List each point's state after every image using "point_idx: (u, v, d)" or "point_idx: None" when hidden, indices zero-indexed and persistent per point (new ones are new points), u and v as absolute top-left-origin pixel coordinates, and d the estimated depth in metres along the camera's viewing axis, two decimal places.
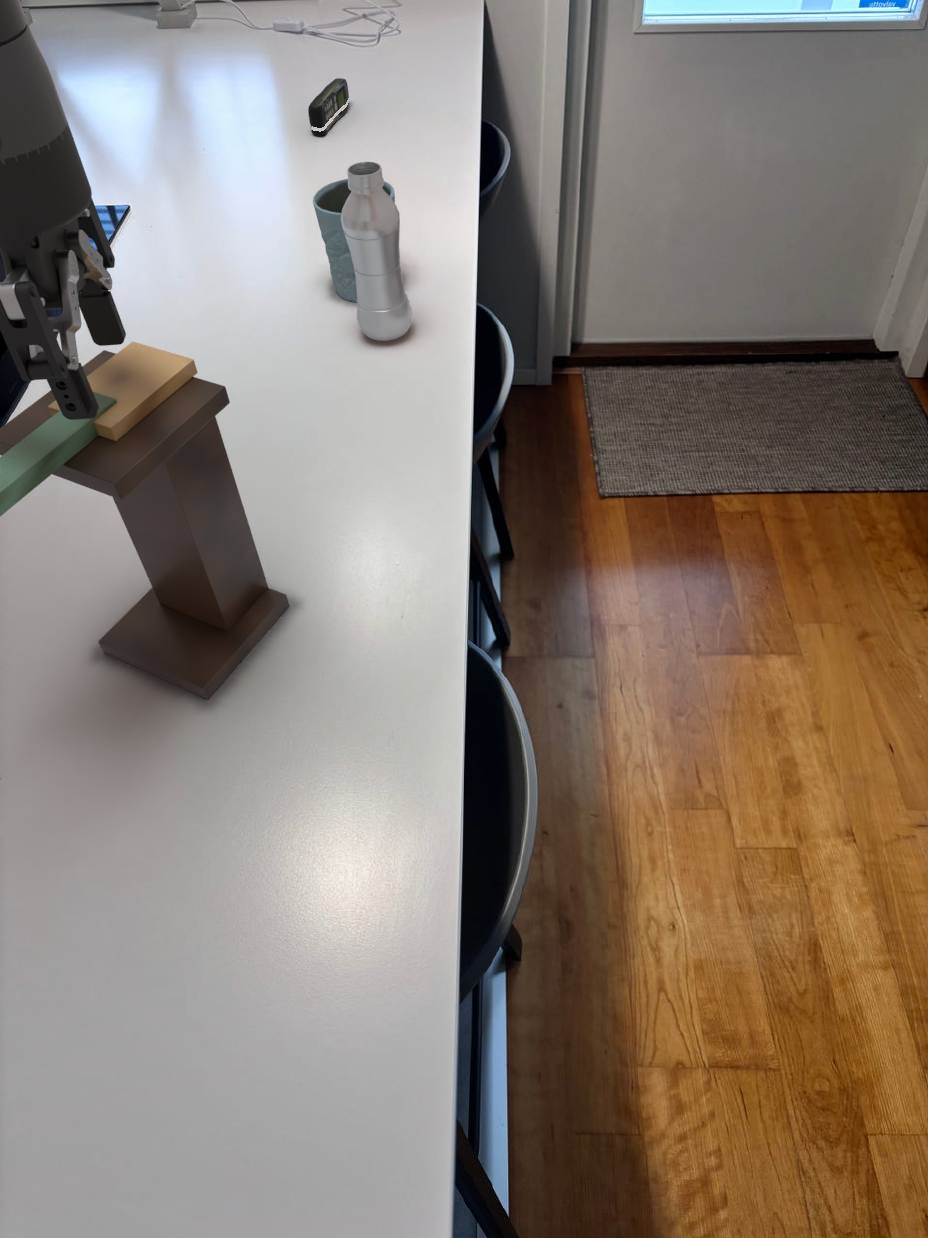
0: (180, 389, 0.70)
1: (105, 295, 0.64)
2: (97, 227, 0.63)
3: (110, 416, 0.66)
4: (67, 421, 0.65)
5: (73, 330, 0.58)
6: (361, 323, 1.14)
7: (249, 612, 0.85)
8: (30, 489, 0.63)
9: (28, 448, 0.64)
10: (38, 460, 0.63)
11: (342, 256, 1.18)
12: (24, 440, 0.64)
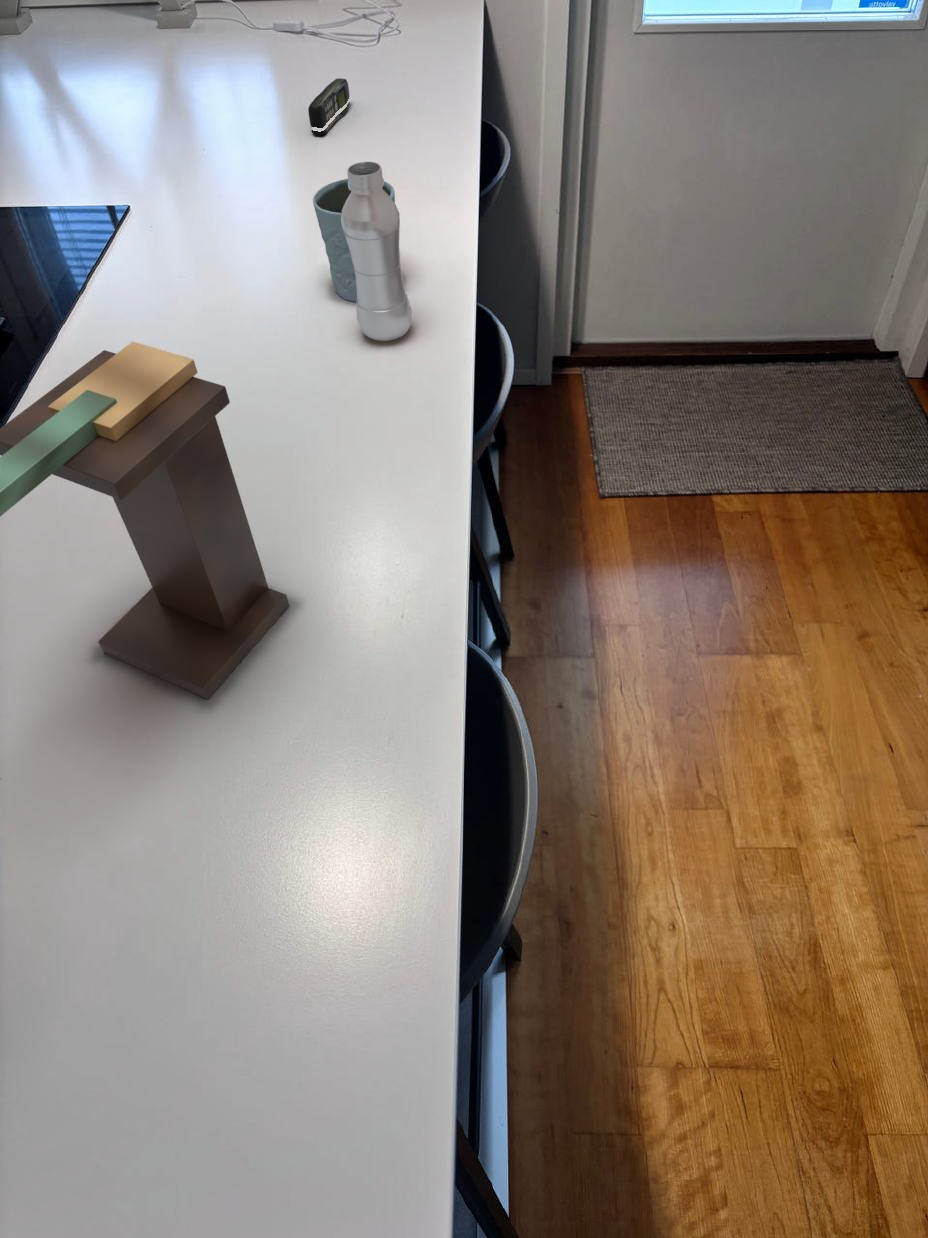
0: (180, 389, 0.70)
1: None
2: None
3: (110, 416, 0.66)
4: (67, 421, 0.65)
5: None
6: (361, 323, 1.14)
7: (249, 612, 0.85)
8: (30, 489, 0.63)
9: (28, 448, 0.64)
10: (38, 460, 0.63)
11: (342, 256, 1.18)
12: (24, 440, 0.64)
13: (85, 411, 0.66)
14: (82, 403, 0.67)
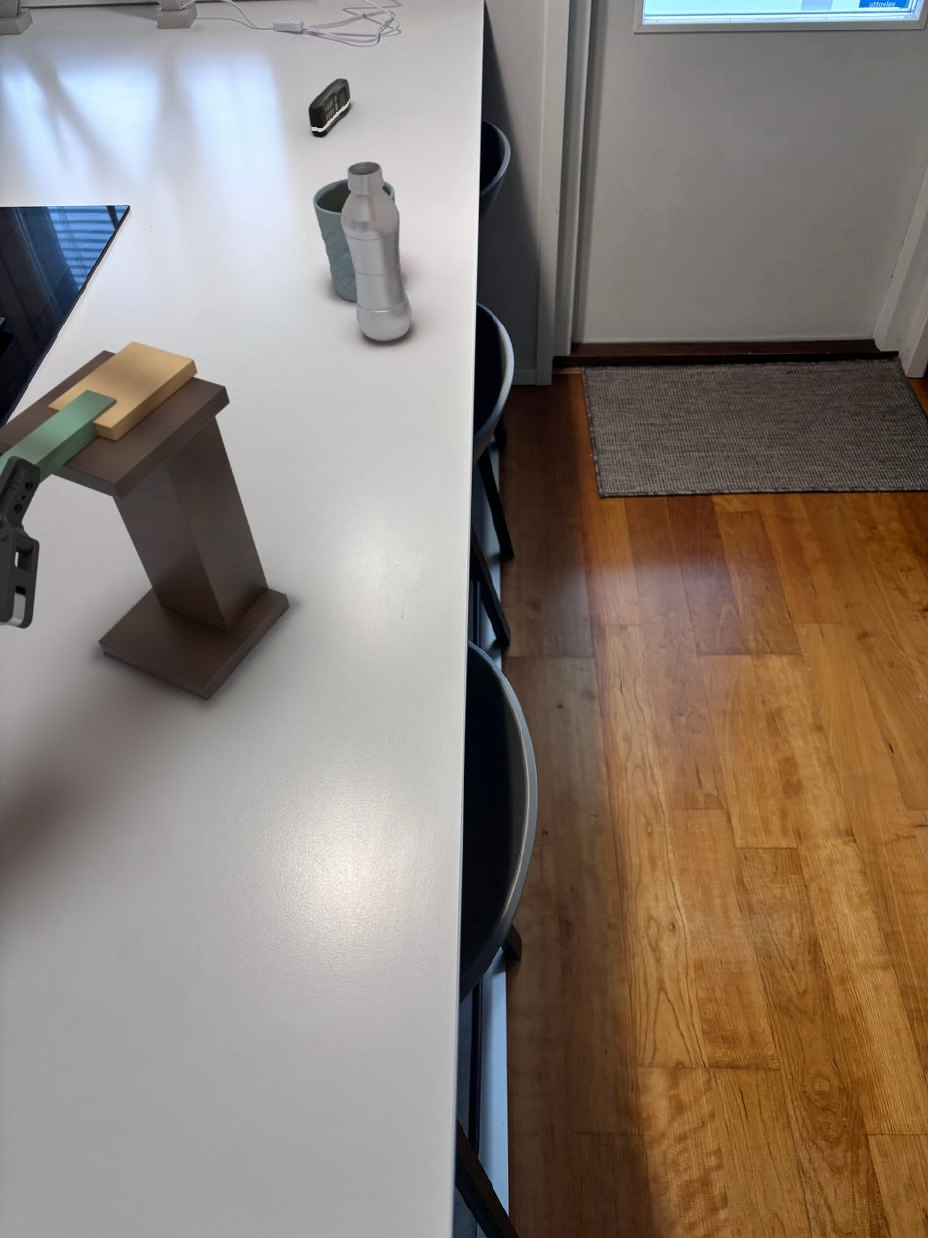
0: (180, 389, 0.70)
1: None
2: None
3: (110, 416, 0.66)
4: (67, 421, 0.65)
5: None
6: (361, 323, 1.14)
7: (249, 612, 0.85)
8: None
9: (28, 448, 0.63)
10: (38, 460, 0.63)
11: (342, 256, 1.18)
12: (24, 440, 0.64)
13: (85, 411, 0.66)
14: (82, 403, 0.67)
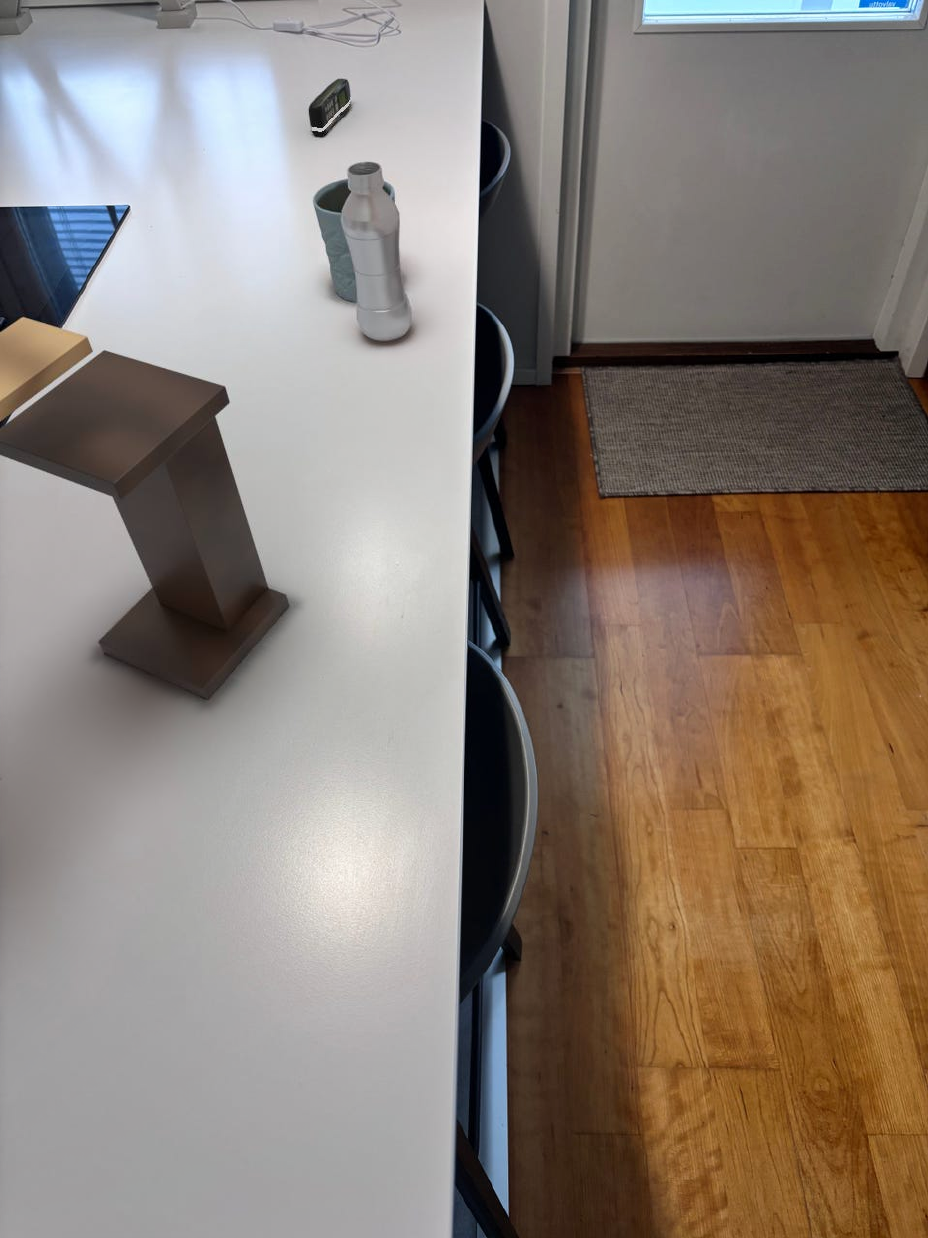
0: (180, 389, 0.70)
1: None
2: None
3: None
4: None
5: None
6: (361, 323, 1.14)
7: (249, 612, 0.85)
8: None
9: None
10: None
11: (342, 256, 1.18)
12: None
13: None
14: None
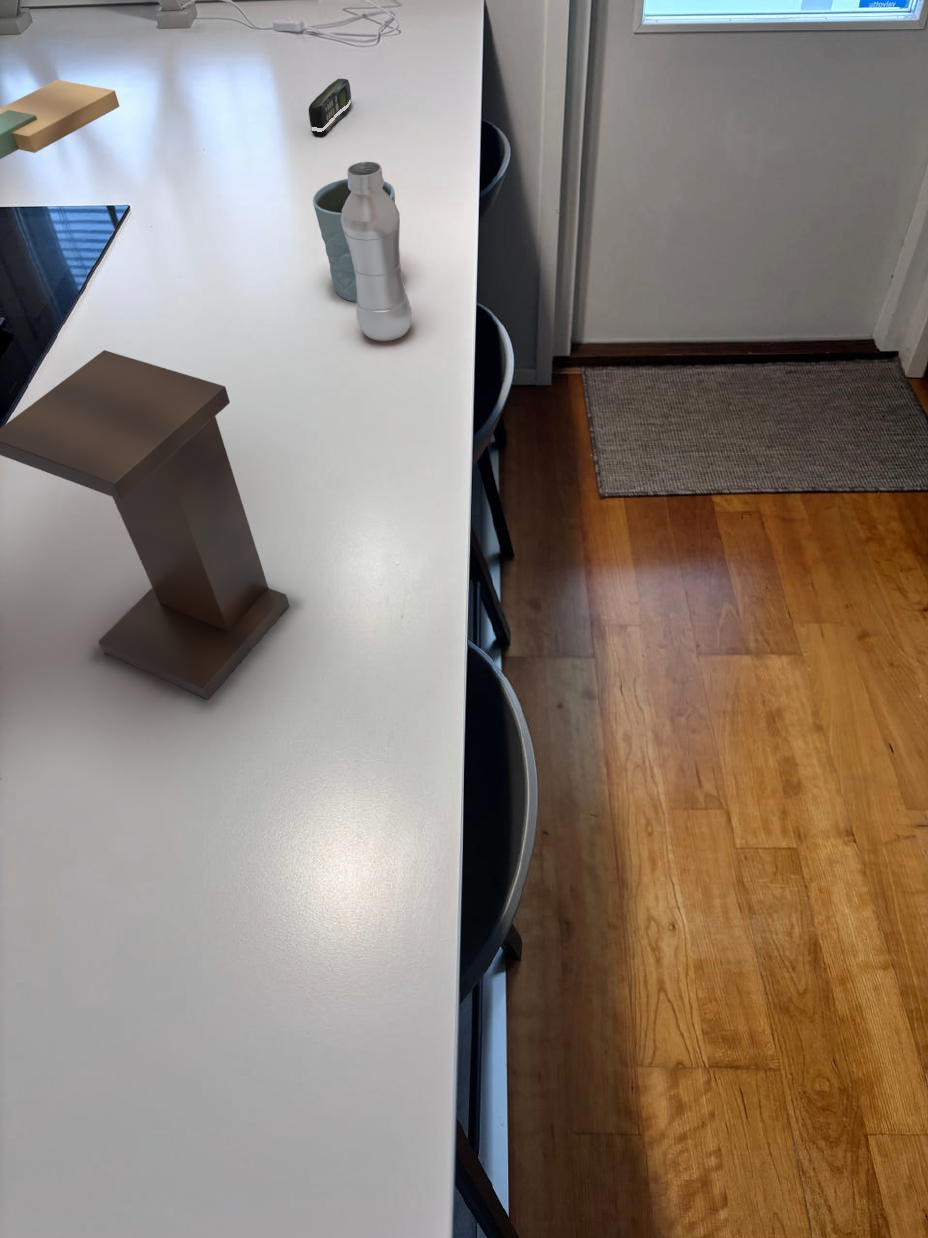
0: (180, 389, 0.70)
1: None
2: None
3: (29, 128, 0.68)
4: None
5: None
6: (361, 323, 1.14)
7: (249, 612, 0.85)
8: None
9: None
10: None
11: (342, 256, 1.18)
12: None
13: (5, 123, 0.68)
14: (2, 118, 0.69)
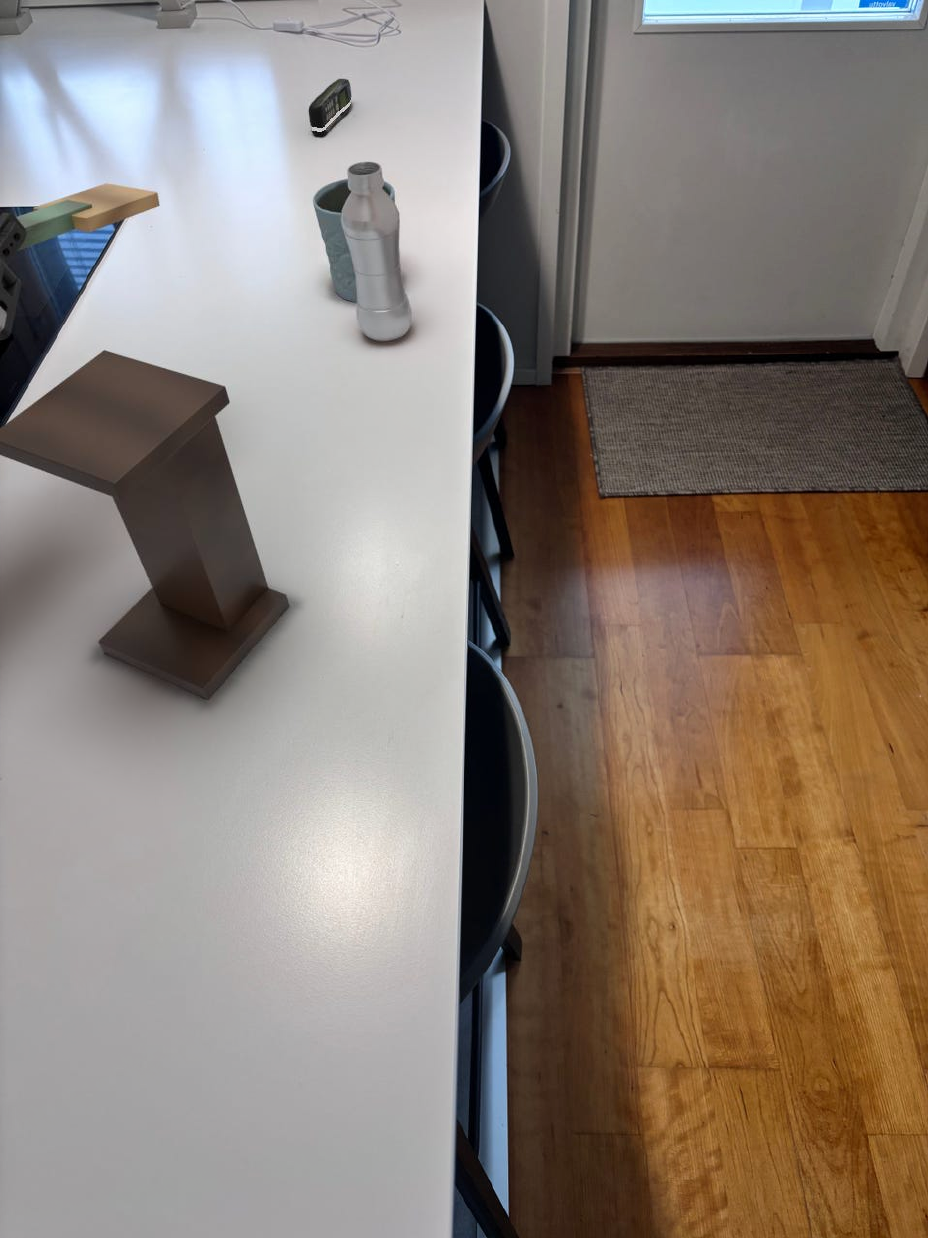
0: (180, 389, 0.70)
1: None
2: None
3: (86, 213, 0.81)
4: (50, 212, 0.80)
5: None
6: (361, 323, 1.14)
7: (249, 612, 0.85)
8: None
9: None
10: None
11: (342, 256, 1.18)
12: None
13: (65, 208, 0.80)
14: (62, 205, 0.81)
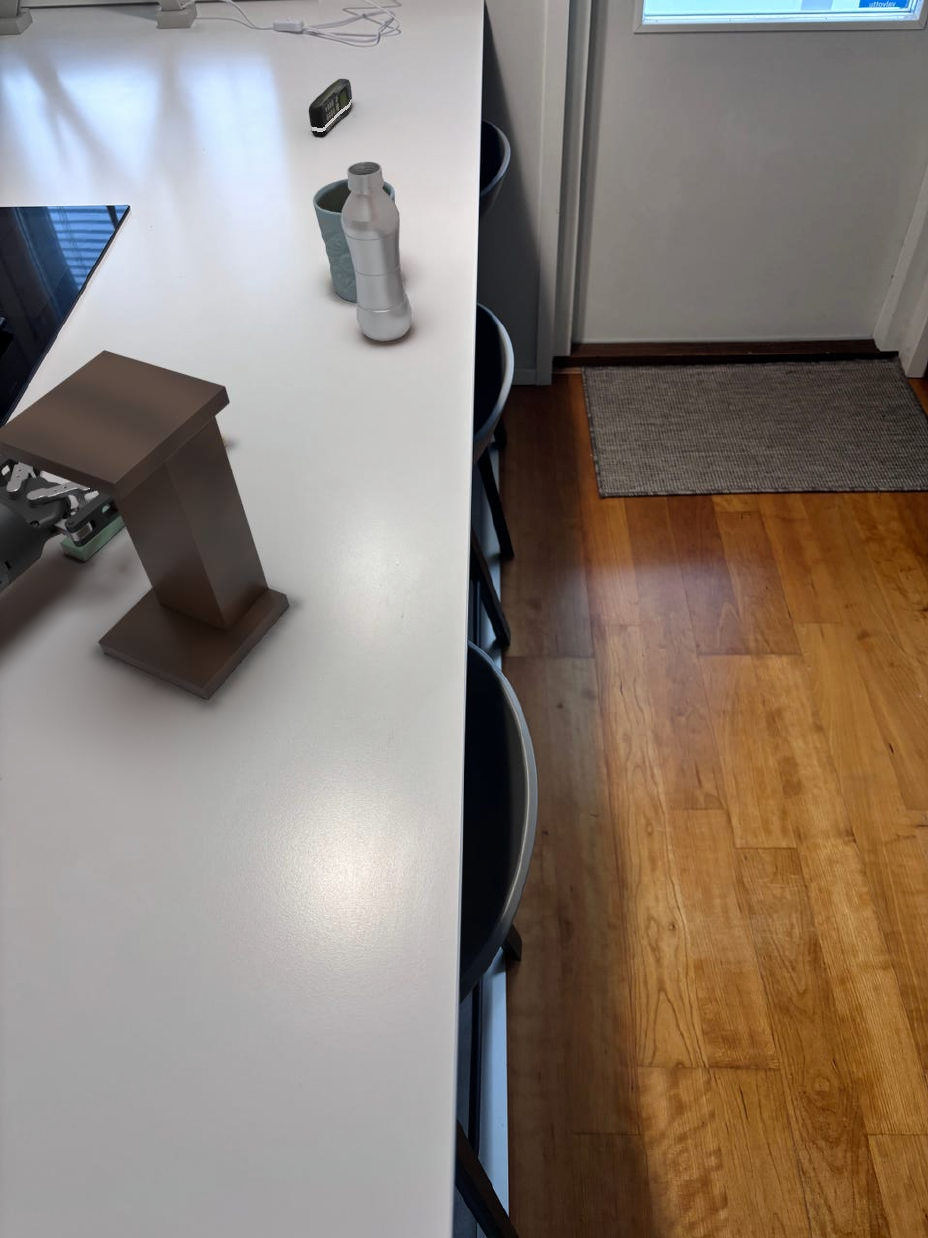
0: (180, 389, 0.70)
1: None
2: None
3: None
4: None
5: (80, 485, 0.86)
6: (361, 323, 1.14)
7: (249, 612, 0.85)
8: (119, 528, 0.96)
9: None
10: None
11: (342, 256, 1.18)
12: None
13: None
14: None
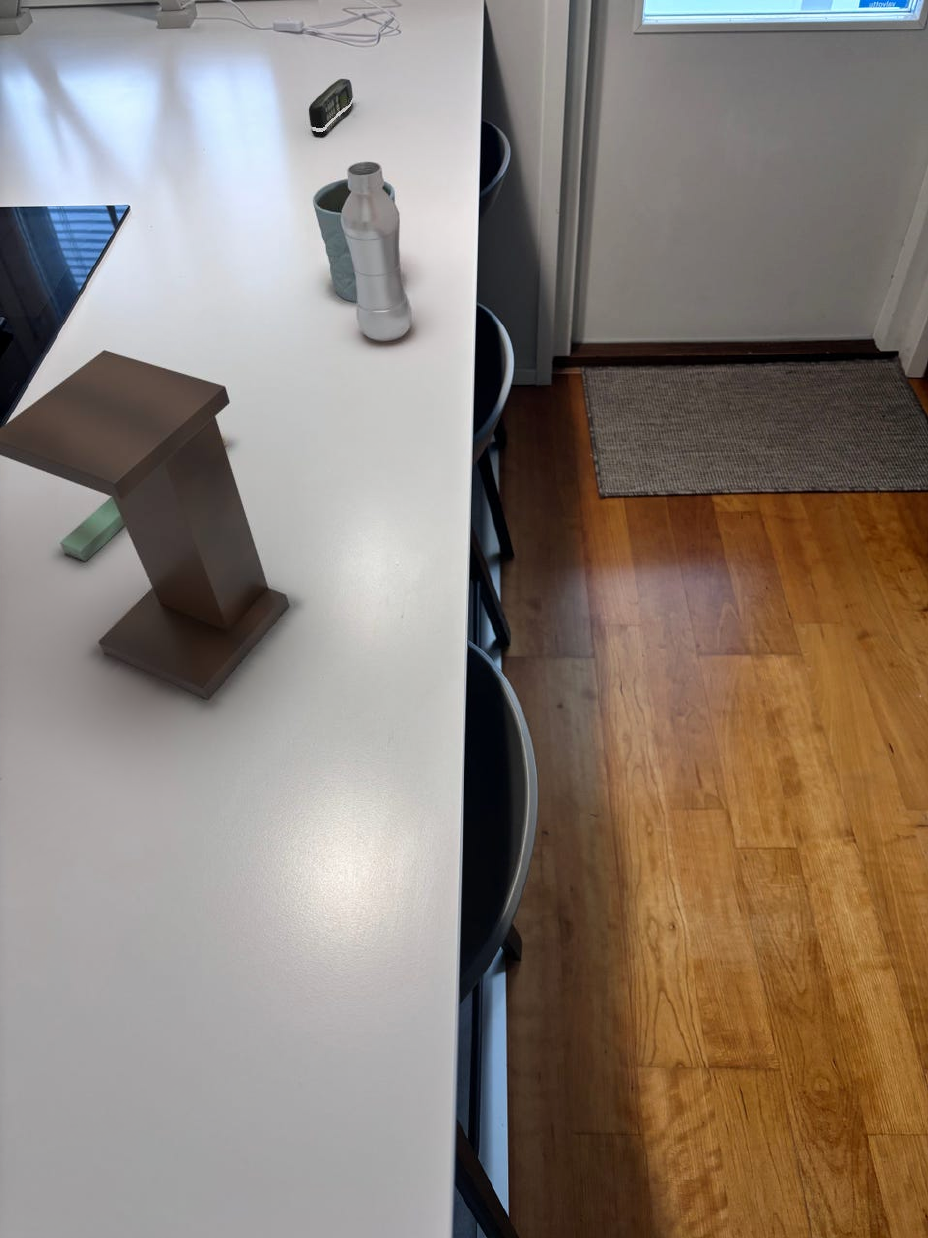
0: (180, 389, 0.70)
1: None
2: None
3: None
4: None
5: None
6: (361, 323, 1.14)
7: (249, 612, 0.85)
8: (119, 528, 0.96)
9: None
10: None
11: (342, 256, 1.18)
12: None
13: None
14: None
